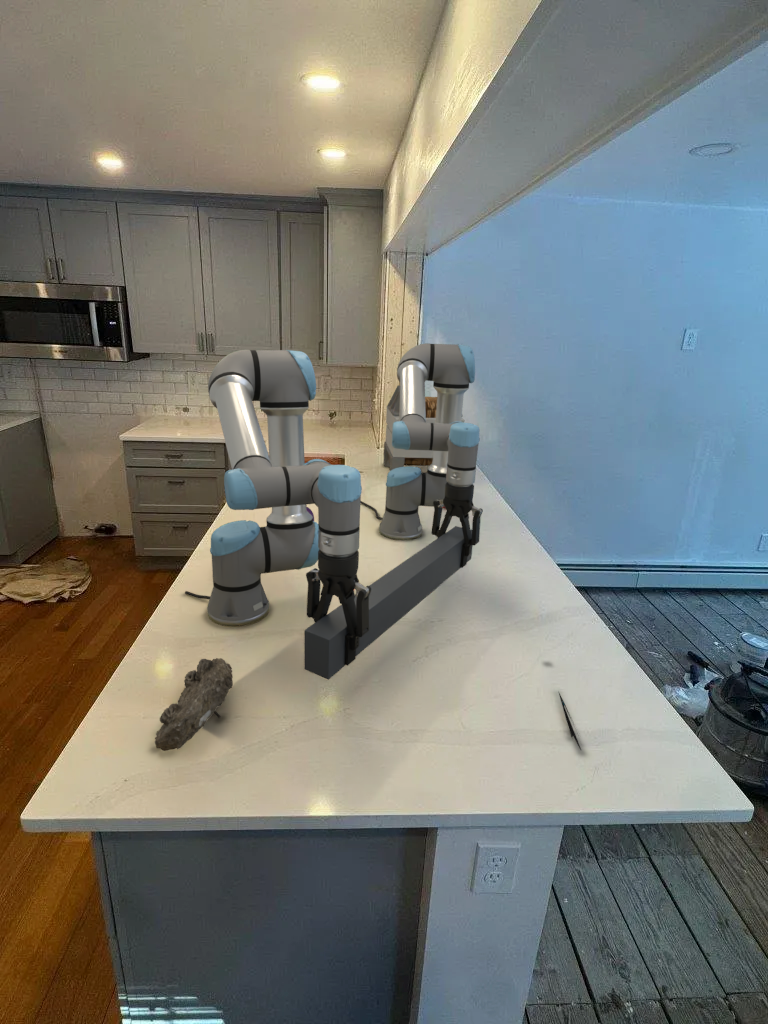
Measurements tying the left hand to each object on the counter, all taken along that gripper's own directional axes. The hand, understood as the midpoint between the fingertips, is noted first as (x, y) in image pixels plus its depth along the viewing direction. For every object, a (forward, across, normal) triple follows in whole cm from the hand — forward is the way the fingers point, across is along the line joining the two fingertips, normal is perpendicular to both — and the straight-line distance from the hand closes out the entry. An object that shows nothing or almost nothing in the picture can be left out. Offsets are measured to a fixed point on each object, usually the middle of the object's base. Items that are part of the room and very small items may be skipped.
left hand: (336, 655), depth 113 cm
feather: (+9, +40, +24) cm, 47 cm away
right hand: (+1, 0, +55) cm, 55 cm away
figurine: (+10, -63, +67) cm, 92 cm away
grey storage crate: (+11, -65, +158) cm, 171 cm away
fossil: (+9, -18, -20) cm, 28 cm away
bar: (+1, 0, +27) cm, 27 cm away
